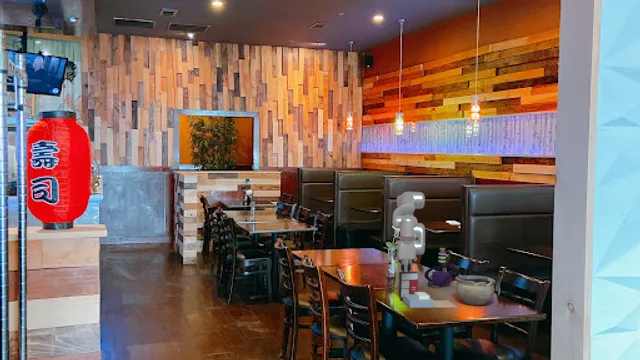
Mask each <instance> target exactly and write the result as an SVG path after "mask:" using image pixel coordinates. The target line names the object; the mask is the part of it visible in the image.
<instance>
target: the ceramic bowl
mask: <svg viewBox="0 0 640 360" xmlns="http://www.w3.org/2000/svg"><path fill="white" fill-rule="evenodd" d="M455 280H456V284H455V292H456V294H457V295H458V297H459V299H460V300H461V301H463V303H465V304H468V305H471V306H484V305H486V304H487V303H489V302H490V301H491V300H492V299H493V297H494V295H495V281H496V280H495V279H494V278H492V277H488V276H482V275H459V276H458V277H456V279H455Z"/></svg>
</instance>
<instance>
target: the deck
mask: <svg viewBox="0 0 640 360" xmlns="http://www.w3.org/2000/svg"><path fill="white" fill-rule="evenodd" d="M434 300H435V299H433V298H432V297H431V296H430V297H429V299H418V298H417V297H416V296H414V294H403V298H402V302H403V303H404V304H405V305H406V306H407V307H409V308H410V309H411V308H414V309H415V308H419V309H420V308H423V309H424V308H425V309H426V308H430V309H431V308H435V307H434Z"/></svg>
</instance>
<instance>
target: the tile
mask: <svg viewBox="0 0 640 360" xmlns="http://www.w3.org/2000/svg"><path fill="white" fill-rule="evenodd" d="M414 296H416V297H417V298H418V299H429V297H430V298H431V296H430V295H429V294H428V293H426V292H425V291H418V292H415V294H414Z"/></svg>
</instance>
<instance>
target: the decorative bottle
mask: <svg viewBox="0 0 640 360" xmlns="http://www.w3.org/2000/svg"><path fill="white" fill-rule="evenodd" d="M438 255H439V256H438V260H437V262H438V263H441V264H443V263H444V264H443V265H437V266H436V265H435V266H433V267H430V268H428V269H427V270H426V271H425V272H424V275H423V276H424V278H425V279H426V280H427V284H428V285H429V287H430V286H431V287H434V286H436V287H439V288H445V287H448V285H450V284H451V283H452V282H453V281H455V280H456V277H458V276H460V271H459V269H458V268H457V267H456V265H455V264H454V263H452V262H451V263H450V262H449V263H447V264H446V262H447V260H445V259H447V257H446V255H447V253H446V248H445V247H440V248H439V252H438ZM444 268H445V269H450V270H451V272H449V271H442V270H441V269H444ZM434 270H435V271H434ZM439 270H441V271H439ZM430 272H432V274H431V275H430V276H429V274H430ZM453 273H454V276H453V275H452V274H453Z"/></svg>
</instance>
